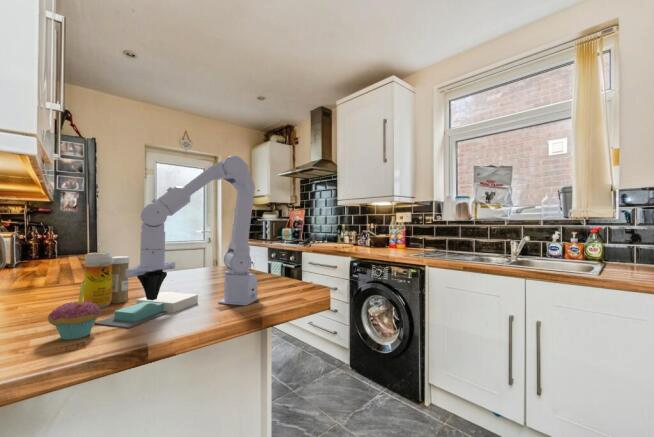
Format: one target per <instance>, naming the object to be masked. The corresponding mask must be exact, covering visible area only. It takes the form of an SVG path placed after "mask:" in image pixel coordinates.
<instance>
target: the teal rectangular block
mask: <svg viewBox="0 0 654 437" xmlns="http://www.w3.org/2000/svg"><path fill="white" fill-rule="evenodd" d="M161 311H163V303H154V302H142V303H139V304H137V303H136V304H134V305H133V304H132V305H130V306H127V307H126V306H125V307H124V308H120V309H116V310H114V313H113V314H114V315H113V317H114V319H116V320H124V321H133V322H135V321H137V320H140V319H143V318H145V317H148V316H151V315H153V314H156V313H159V312H161Z"/></svg>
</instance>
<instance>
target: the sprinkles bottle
mask: <svg viewBox="0 0 654 437" xmlns="http://www.w3.org/2000/svg"><path fill="white" fill-rule="evenodd" d="M129 263H130V256H126V255H125V256H124V255H120V256H112V274H111V302H110V304H121V303H125V302H128V301H129V277H126V269H129Z"/></svg>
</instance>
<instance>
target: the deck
mask: <svg viewBox="0 0 654 437" xmlns="http://www.w3.org/2000/svg"><path fill="white" fill-rule="evenodd" d="M198 300H199V295H198V294H194V293H183V292H175V291H174V292H170V291H162V292H159V293H158V296H157V299H156V300H147V298H146V296H145V297H141V298H138V299H136V304H139V303H142V302H154V303H163V311H166V312H169V313H173V314H174V313H175V312H179V311H181V310H184V309H186V308H188V307H191V306H194V305H196V304H198V303H199V301H198Z"/></svg>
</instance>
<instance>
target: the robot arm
mask: <svg viewBox="0 0 654 437" xmlns="http://www.w3.org/2000/svg"><path fill="white" fill-rule="evenodd" d="M219 180H225V181H227V182H228V183H230V184H231V186H233V187H234V189H235V190H236V202H235V208H234V215H233V216H234V217H233V224H232V231H231V240H230V242H229V244H228V246H227V248H228V249H227V251H226V253H225V255H224V256H223V263H224V265H225V267H226V269H225V271H224V296H223V298H222V299H220V300H218V301H217V303H218V304H224V305H226V304H227V305H235V306H249V305H250V304H252V303H254V302H255V301H257V300H258V299H259V297H258V276H257V274H255V273H251V272H250V268H251V266H252V258H251V256H250V253H251V252H250V251H251V248H250V244H249V236H250V229H251V220H252V211H253V205H254V196H255V189H256V186H255V182H254V181H253V177H252V175H251V173H250V169H249V164H247V162H245V160H244V159H243V158H242V157H240V156H238V155H229V156H227V157H226V158H225V160H220V161H218V162H216V163H215V164H213V165H211V166H208V167H207V169H205V170H204V171H203V172H201V173H200V174H198V175H197V176H196V177H194V178H193V179H192V180H191V181H189V182H188V183H186V184H185V185H184V186H176V185H175V186H174V187H171V186H170V187H168V188H167V189H166V192H165V193H164V194H162V195H161V196H159V197H158V198H157V199H155V198H153V199H151V202H152V203H148V204H147V205H146V206H145V207H143V209H142V211H141V213H140V218H141V221H142V223H141V225H140V226H141V228H140V229H141V232H140V256H139V257H140V258H139V264H138V265H137V266H134V267H131V268H128V269H126V277H128V278H135V277H137V279H138V280H139V282H140V284H141V286H142V288H143V291H144V293H145V297H146V298H147V300H156V299H157V296H158V293H160V290H161V287H162V284H163V282H164V281H165V279H166V277H167V276H168V272H167V271H166V270H174V269H176V261H165V258H166V231H165V222H166V221H167V218H168V216H169V217H172V216H173V215H175V214H176V213H177V212H179V211H180V210H181V209H183V208H184V207H185V206H187V205H189V203H191V196H192V195H194V194H195V193H196V192H198V191H199V190H200V189H202V188H203V187H205V186H207V185H208V184H209V183H211V182H212V181H219Z"/></svg>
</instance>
